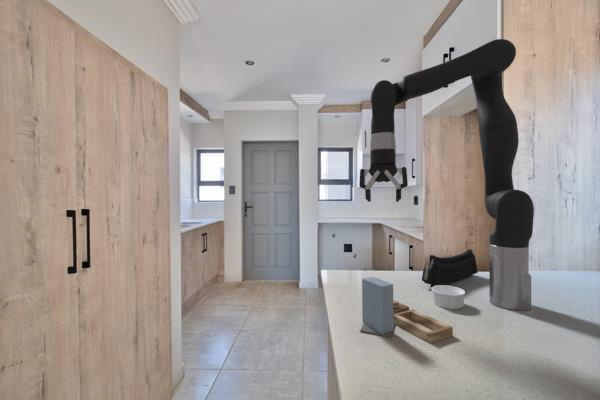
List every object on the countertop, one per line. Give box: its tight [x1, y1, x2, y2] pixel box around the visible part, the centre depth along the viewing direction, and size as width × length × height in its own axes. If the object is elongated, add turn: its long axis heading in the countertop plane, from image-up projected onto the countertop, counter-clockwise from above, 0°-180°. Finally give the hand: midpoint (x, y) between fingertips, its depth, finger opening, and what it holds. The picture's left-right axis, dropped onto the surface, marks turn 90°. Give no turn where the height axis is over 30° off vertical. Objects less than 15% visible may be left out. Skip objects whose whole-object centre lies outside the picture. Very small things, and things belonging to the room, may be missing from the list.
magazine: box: [421, 248, 479, 288], centre depth 107 cm, size 17×3×30 cm
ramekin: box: [430, 284, 466, 310], centre depth 85 cm, size 9×9×4 cm
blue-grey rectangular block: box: [361, 276, 394, 334], centre depth 71 cm, size 7×4×11 cm, turn 26°
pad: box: [359, 323, 395, 338], centre depth 71 cm, size 7×7×1 cm
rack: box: [393, 299, 454, 344], centre depth 72 cm, size 17×7×4 cm, turn 26°
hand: (383, 201), depth 90 cm, fingers open, 8 cm apart
